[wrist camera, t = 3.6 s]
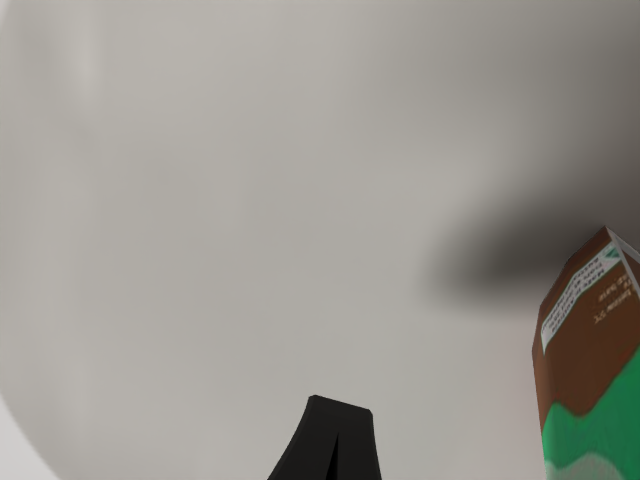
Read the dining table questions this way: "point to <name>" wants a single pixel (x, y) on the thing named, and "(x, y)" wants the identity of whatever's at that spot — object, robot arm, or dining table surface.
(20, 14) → the dining table surface
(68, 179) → the dining table surface
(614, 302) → the food container
